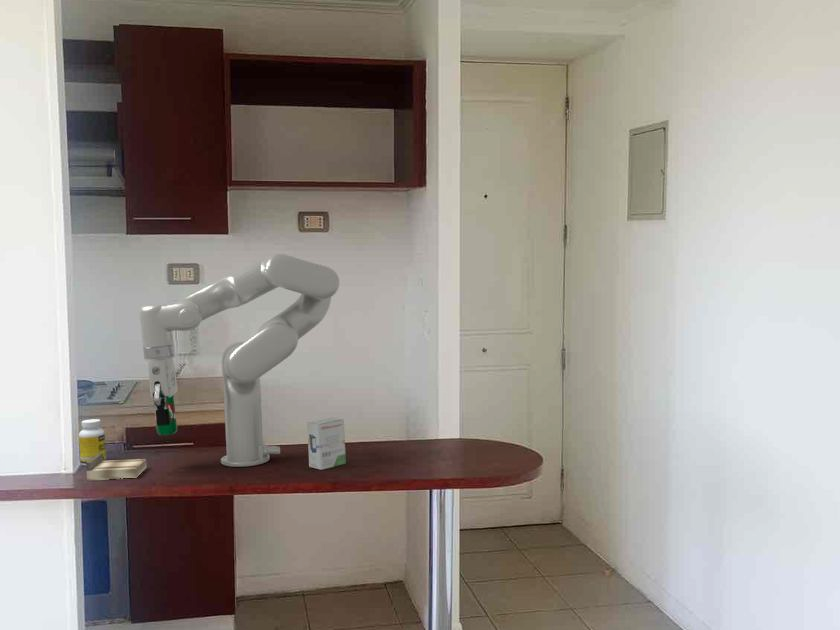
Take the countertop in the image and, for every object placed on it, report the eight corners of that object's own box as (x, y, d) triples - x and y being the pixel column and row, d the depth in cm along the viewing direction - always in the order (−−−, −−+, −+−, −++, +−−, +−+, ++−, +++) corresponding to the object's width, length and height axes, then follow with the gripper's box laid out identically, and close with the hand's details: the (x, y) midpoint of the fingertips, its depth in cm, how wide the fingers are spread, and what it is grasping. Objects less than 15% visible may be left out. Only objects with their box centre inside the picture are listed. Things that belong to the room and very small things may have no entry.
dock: (146, 468, 227) (145, 451, 227) (136, 478, 217) (135, 460, 217) (99, 470, 227) (98, 453, 226) (87, 480, 217) (86, 462, 216)
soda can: (161, 431, 228) (156, 386, 227) (180, 430, 228) (175, 385, 227) (154, 436, 223) (149, 389, 222) (174, 435, 223) (169, 388, 222)
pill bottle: (97, 467, 231) (95, 423, 230) (75, 466, 232) (72, 423, 231) (111, 460, 237) (108, 418, 236) (89, 460, 238) (86, 418, 237)
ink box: (320, 470, 220) (318, 424, 219) (308, 467, 224) (306, 421, 223) (347, 463, 226) (345, 418, 225) (334, 460, 230) (332, 416, 229)
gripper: (166, 356, 215) (173, 428, 217) (181, 347, 232) (188, 414, 234) (135, 358, 215) (143, 431, 216) (152, 349, 232) (159, 417, 233)
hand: (166, 421), depth 225 cm, fingers closed on soda can, 5 cm apart
